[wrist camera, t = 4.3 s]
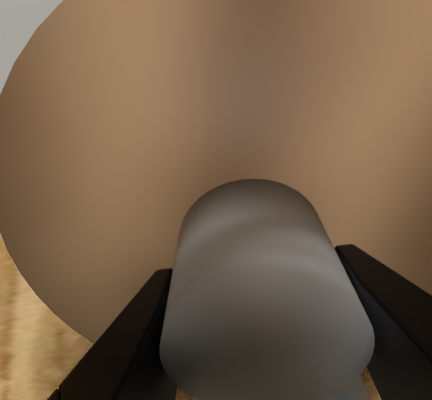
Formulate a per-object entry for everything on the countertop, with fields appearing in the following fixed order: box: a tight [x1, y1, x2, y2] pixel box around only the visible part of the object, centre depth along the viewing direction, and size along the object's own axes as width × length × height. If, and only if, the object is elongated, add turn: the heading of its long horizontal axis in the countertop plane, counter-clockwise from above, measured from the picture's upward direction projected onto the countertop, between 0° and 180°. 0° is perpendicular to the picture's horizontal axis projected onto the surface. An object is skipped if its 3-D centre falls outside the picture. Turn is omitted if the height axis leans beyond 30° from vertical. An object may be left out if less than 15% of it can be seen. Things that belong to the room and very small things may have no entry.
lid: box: [0, 0, 432, 400], centre depth 8 cm, size 14×14×4 cm
